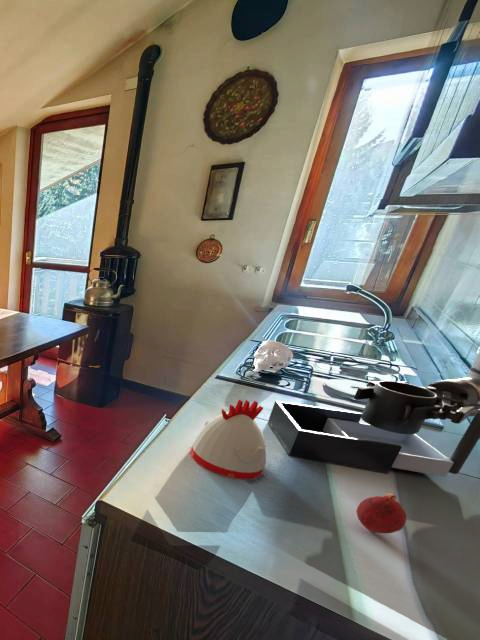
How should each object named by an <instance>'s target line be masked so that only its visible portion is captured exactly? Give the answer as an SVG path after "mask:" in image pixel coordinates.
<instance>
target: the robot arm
mask: <svg viewBox="0 0 480 640" xmlns="http://www.w3.org/2000/svg"><path fill="white" fill-rule="evenodd" d="M377 382H379V381H377V380H376V381H374V380H368V381H367V383H366V385H365V386H364V387H358V388H357V390H356V392H355V395H354V396H353V399H354V400H355V401H360V400H369V398H370V396H371V394H372V392H373V390H374V387H375V385H376V383H377ZM400 382H401V383H406V384H410V382H409V381H403V380H402V381H400ZM421 387H422V388H425V389H427V390H430V391H432V392H434V393H436V394H437V396H438V397H437V399H436V401H435V403H434V405H433V406H426V407H418V408H414V410H413V412H412V414H411V416H410V418H409V420H412V421H417V420H425V421H426V420H444V421H446V420H447V419H448V420H450V422H451V423H452V424H458V425H459V424H461V423H462V422H464V421H465V420H466V419H467V418H468V419H469V417H474V416H475V415H476V413H477V411H478V410H479V409H480V351H479V352H478V354H477V355H476V357H475V360H474V361H473V363H472V365H471V367H470V368H469V370H468V372H467V374H466V376H465V377H463V378H453V379H444V380H438V381H437V380H436V381H434V382H432V383H430V384H428V385H427V386H421Z"/></svg>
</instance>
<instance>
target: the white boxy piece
mask: <svg viewBox="0 0 480 640" xmlns="http://www.w3.org/2000/svg"><path fill="white" fill-rule="evenodd" d="M323 431H324V432H325V433H326V434H332V435H338V436H345V437H351V438H357V439H363V440H369V441H376V442H382V443H388V444H394V445H400V446H401V447H402V448H401V450H400V452H399V454H398V455H397V457H396V459H395V461H394V463H393V465H392V467H391V468H392V469H393V468H394V469H399V470H405V471H410V472H417V473H420V474H421V473H422V474H428V475H432V476H437V477H438V476H439V477H447V475H448V473H450V474H453V475H458V474H459V473H460V471H461V470H462V468H463V466H464V465H465V463H466V461H467V460H468V458H469V457H470V454H471V453H472V451H473V450H474V448H475V447H476V445H477V443H478V442H479V440H480V409H479V410H478V411H477V413H476V415H475V416H473V418H472V419H471V421H470V423H469V425H468V427H467V428H466V429H465V432H464V433H463V435H462V437H461V438H460V440H459V442H458V444H457V445H456V447H455V449H454V450H453V452H452V455H451V456H450V457H448V456H446V455H444V453H442V452H440V451H439V450H438V449H437V448H435V447H434V446H433V445H431V444H430V443H429V442H427V441H426V440H425V439H424V438H422V437H420V436H419V435H418V434H417V433H416V434H410V435H409V434H399V433H394V432H389V431H386V430H382V429H379V428H377V427H374V426H372V425H370V424H368V423H366V422H359V423H358V422H352V421H345V420H338V419H332V418H328V419H327V421H326V424H325V426H324V429H323Z"/></svg>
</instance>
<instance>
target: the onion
mask: <svg viewBox="0 0 480 640" xmlns="http://www.w3.org/2000/svg"><path fill="white" fill-rule="evenodd" d="M396 499H397V496H396V495H395V494H394V493H390V492H389V493H387V494H385V495H383V496H382V495H374V496H369V497H366V498H364V499H362V500H361V501H360V503H359V504H358V505H357V507H356V511H355V512H356V515H357V519H358V521H359V522H360V524H361V525H362V526H364V528H366V529H367V530H368V531H369V532H371V533H373V534H392V533H395V532H399V531H401V530H402V529H404V527H405V525H406V522H407V514H406V511H405V509H404V507H402V505H401V504H400V503H399V502H398V501H397V500H396Z"/></svg>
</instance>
